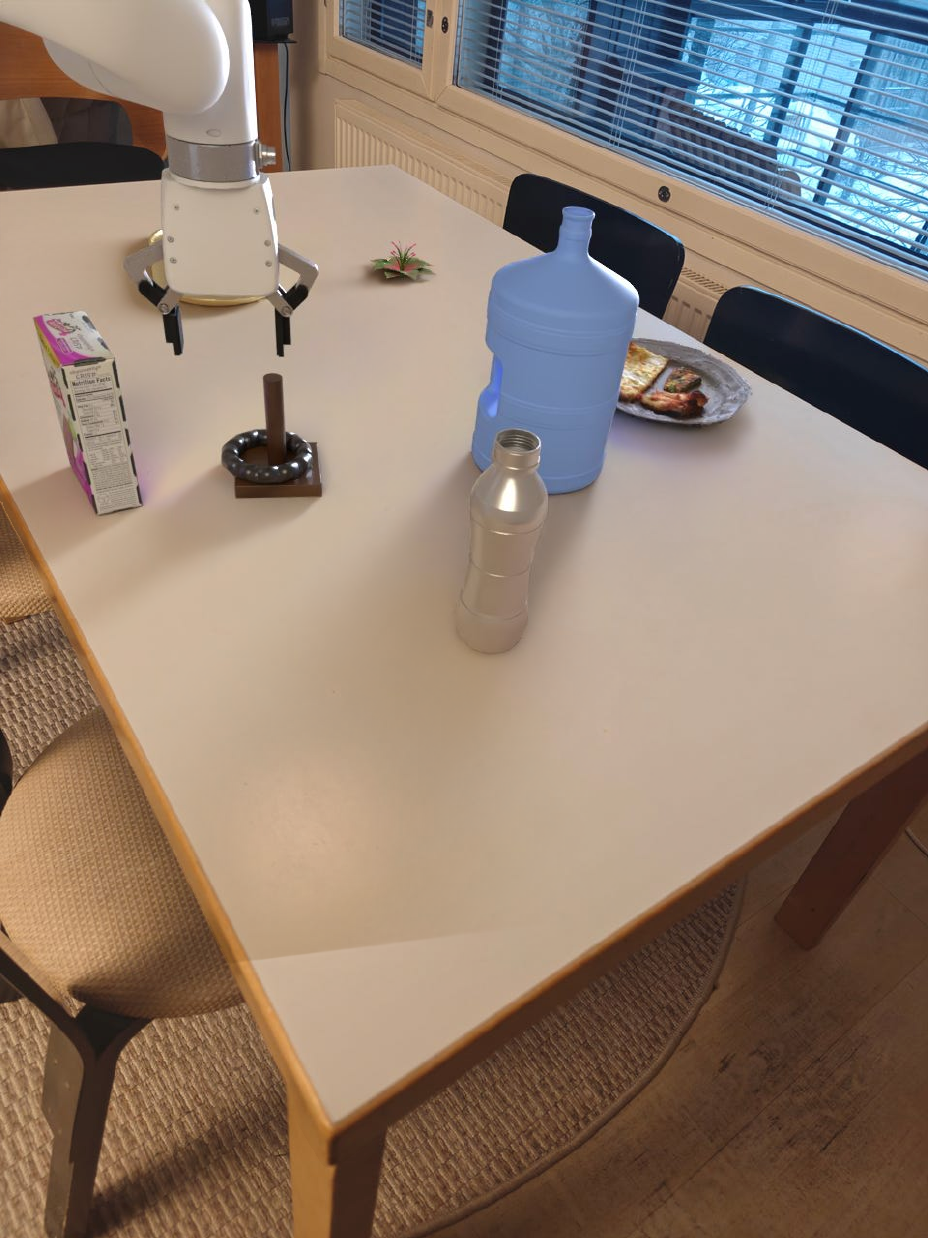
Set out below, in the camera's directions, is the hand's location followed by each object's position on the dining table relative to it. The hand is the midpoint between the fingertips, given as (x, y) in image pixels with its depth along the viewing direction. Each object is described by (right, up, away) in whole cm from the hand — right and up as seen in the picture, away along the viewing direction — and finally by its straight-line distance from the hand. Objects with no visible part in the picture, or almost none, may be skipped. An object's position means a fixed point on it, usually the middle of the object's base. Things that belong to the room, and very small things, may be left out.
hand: (230, 350), depth 84 cm
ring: (+2, -9, +8) cm, 12 cm away
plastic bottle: (+25, -28, -7) cm, 38 cm away
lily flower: (+12, +32, +61) cm, 71 cm away
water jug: (+31, -8, +18) cm, 37 cm away
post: (+2, -11, +10) cm, 15 cm away
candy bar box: (-15, -13, +6) cm, 20 cm away
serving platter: (-18, +30, +55) cm, 65 cm away
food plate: (+50, +5, +35) cm, 61 cm away
